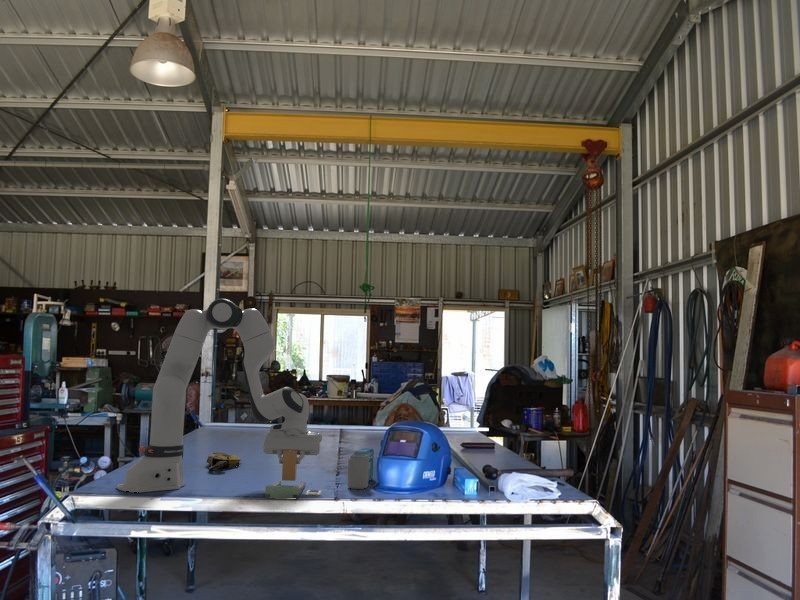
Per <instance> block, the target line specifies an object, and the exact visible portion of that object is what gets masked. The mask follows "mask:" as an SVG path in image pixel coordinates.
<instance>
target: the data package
mask: <svg viewBox="0 0 800 600" xmlns="http://www.w3.org/2000/svg"><path fill="white" fill-rule="evenodd" d="M374 452H375V451H374V448H370V447H368V448H365V447H361V448H358V449H356V450H354V452H353V454H365V455H367V458H368V459H369V473H368V482H369V480H370V481H371V479H373V476H374V455H375V454H374Z"/></svg>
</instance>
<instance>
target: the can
mask: <svg viewBox="0 0 800 600" xmlns="http://www.w3.org/2000/svg"><path fill="white" fill-rule="evenodd" d="M347 463H348V464H347V487H348V488H349V489H350V488H351V489H350V490H354V489H362V490H365V489H364V488H366V489H367V487H368V486H369V481H368V473H369V459H368V458H367V455H365V454H354V453H351V454H350V455H349V457H348V461H347Z"/></svg>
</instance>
